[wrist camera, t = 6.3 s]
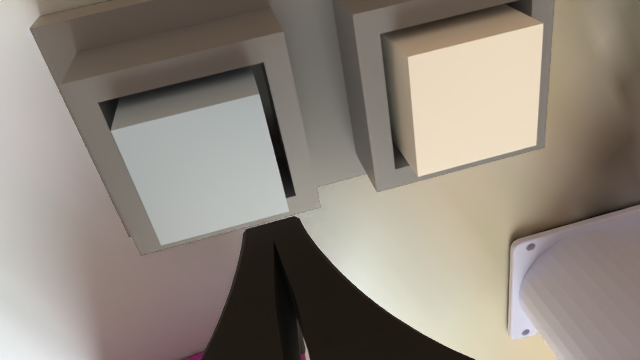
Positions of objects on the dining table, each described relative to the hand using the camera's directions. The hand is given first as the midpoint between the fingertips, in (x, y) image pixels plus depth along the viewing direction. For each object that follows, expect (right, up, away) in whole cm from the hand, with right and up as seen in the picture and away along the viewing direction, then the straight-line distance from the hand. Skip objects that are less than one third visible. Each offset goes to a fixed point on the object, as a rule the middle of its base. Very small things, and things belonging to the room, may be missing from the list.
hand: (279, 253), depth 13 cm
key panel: (+1, +6, +9) cm, 11 cm away
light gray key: (-3, +4, +6) cm, 8 cm away
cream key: (+6, +6, +7) cm, 10 cm away
